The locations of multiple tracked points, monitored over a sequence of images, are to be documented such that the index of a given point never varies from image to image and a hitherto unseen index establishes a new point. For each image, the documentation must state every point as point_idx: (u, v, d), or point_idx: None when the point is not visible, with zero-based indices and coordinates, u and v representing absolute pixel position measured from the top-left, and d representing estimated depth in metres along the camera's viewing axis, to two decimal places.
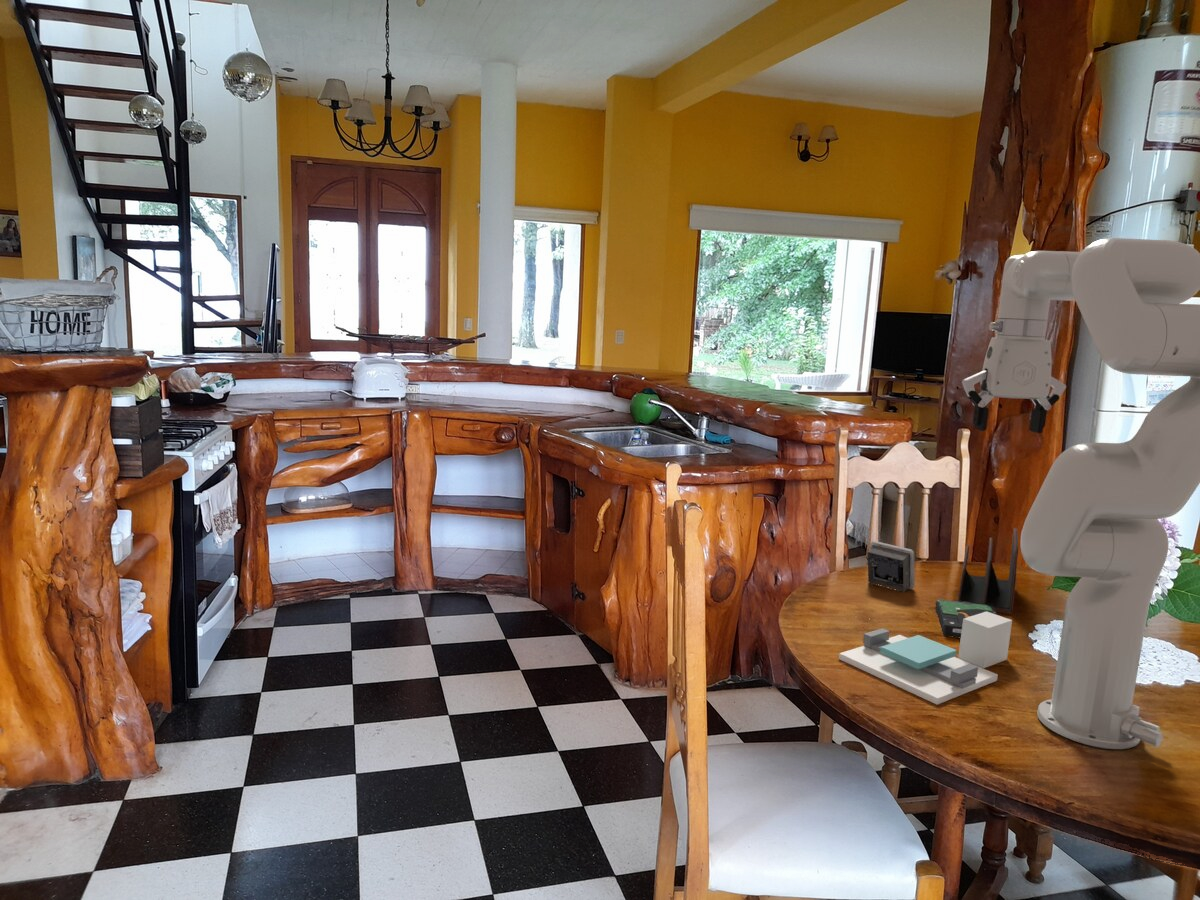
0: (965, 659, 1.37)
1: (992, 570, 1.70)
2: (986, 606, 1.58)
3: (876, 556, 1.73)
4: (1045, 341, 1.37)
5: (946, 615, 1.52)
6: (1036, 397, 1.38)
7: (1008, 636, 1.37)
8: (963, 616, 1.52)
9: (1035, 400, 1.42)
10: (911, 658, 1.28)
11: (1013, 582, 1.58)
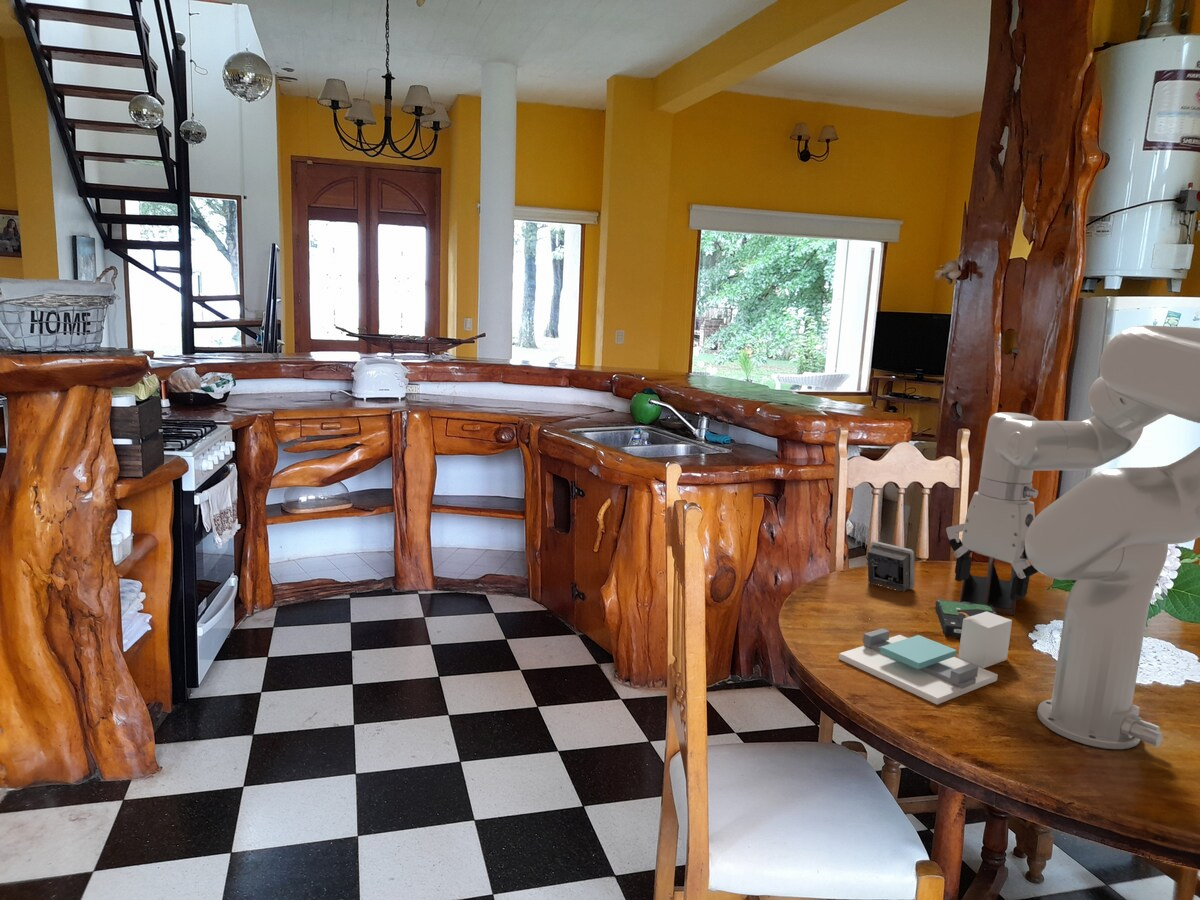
0: (965, 659, 1.37)
1: (994, 570, 1.69)
2: (986, 606, 1.58)
3: (876, 556, 1.73)
4: None
5: (947, 615, 1.52)
6: None
7: (1008, 636, 1.37)
8: (963, 616, 1.52)
9: None
10: (911, 658, 1.28)
11: None
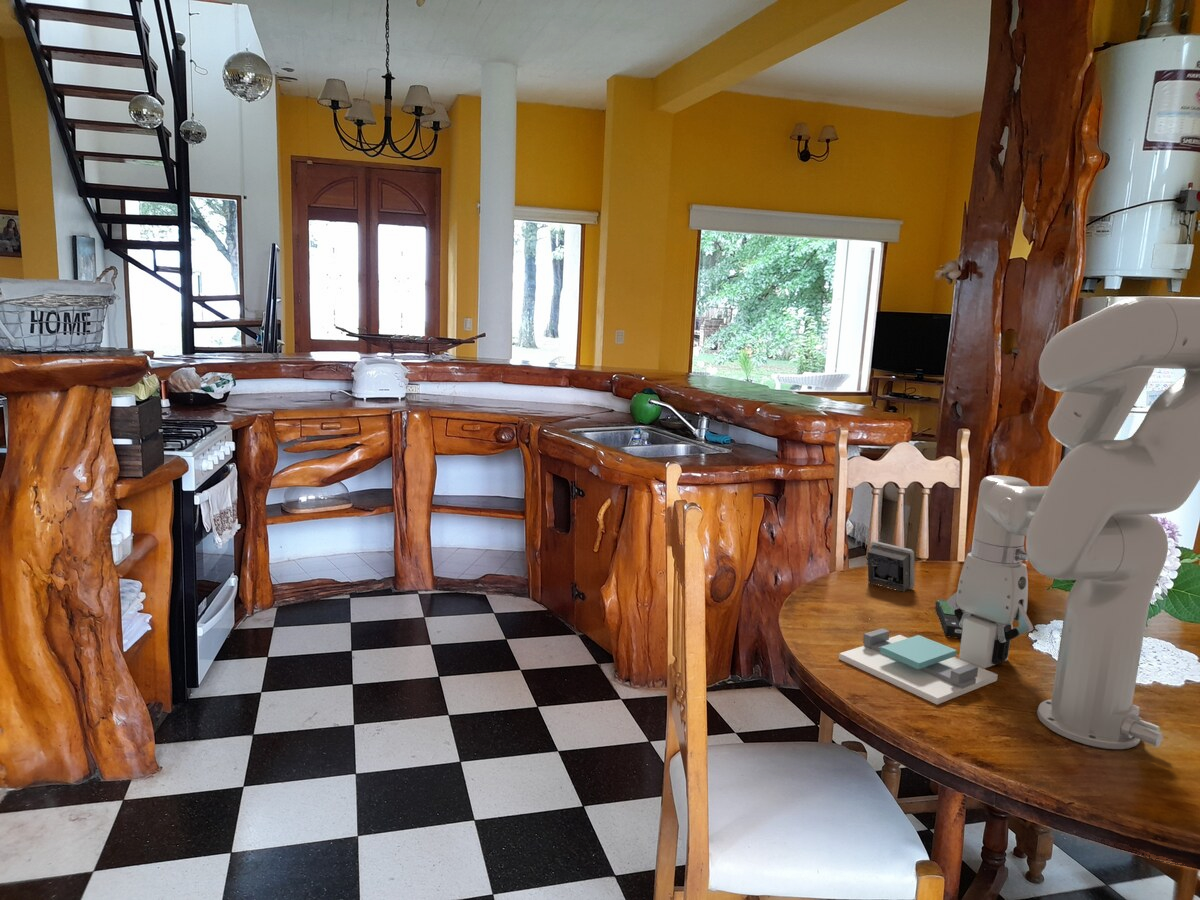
0: (966, 659, 1.37)
1: None
2: None
3: (876, 556, 1.73)
4: None
5: (947, 615, 1.52)
6: None
7: None
8: None
9: None
10: (911, 658, 1.28)
11: None
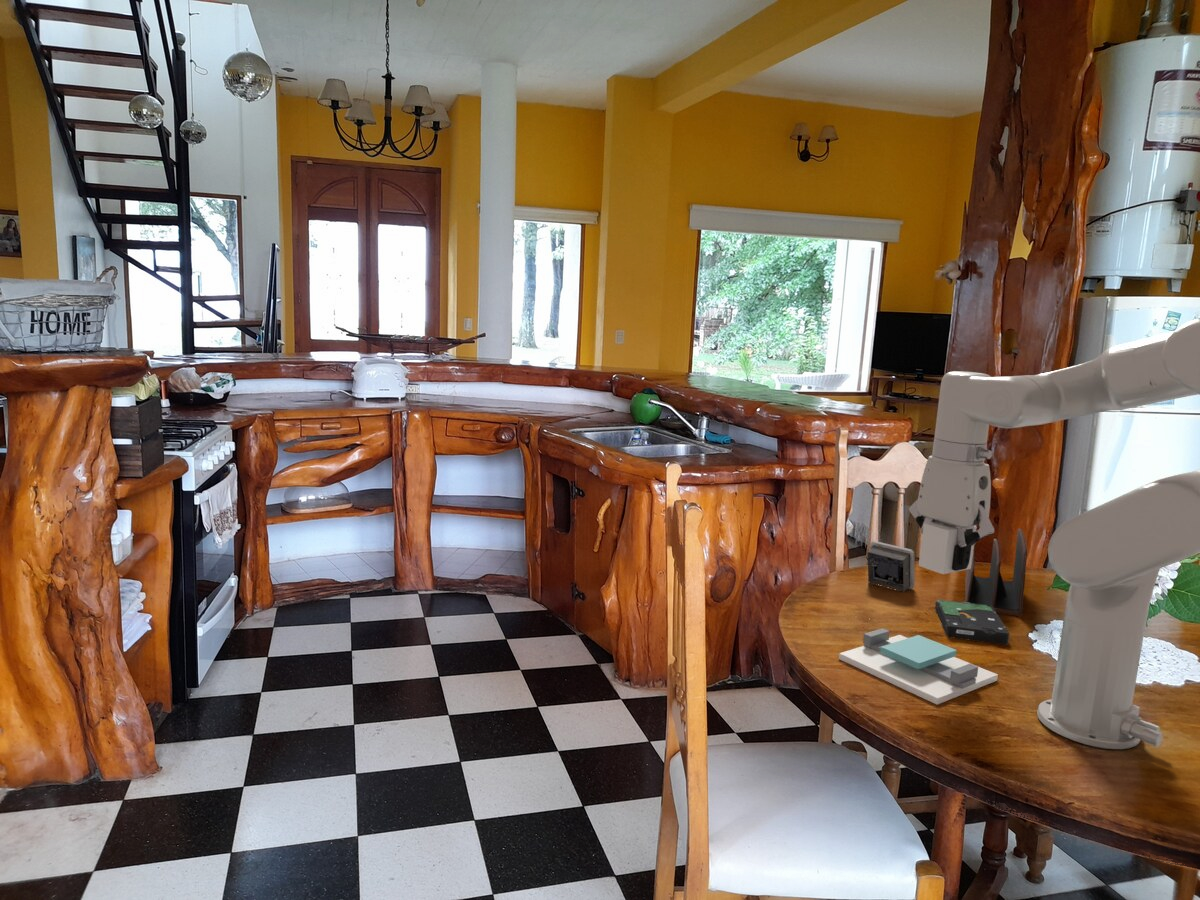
0: (925, 566, 1.30)
1: (998, 571, 1.69)
2: (986, 606, 1.58)
3: (876, 556, 1.73)
4: None
5: (948, 616, 1.52)
6: None
7: None
8: (964, 616, 1.52)
9: None
10: (911, 658, 1.28)
11: (1022, 584, 1.58)
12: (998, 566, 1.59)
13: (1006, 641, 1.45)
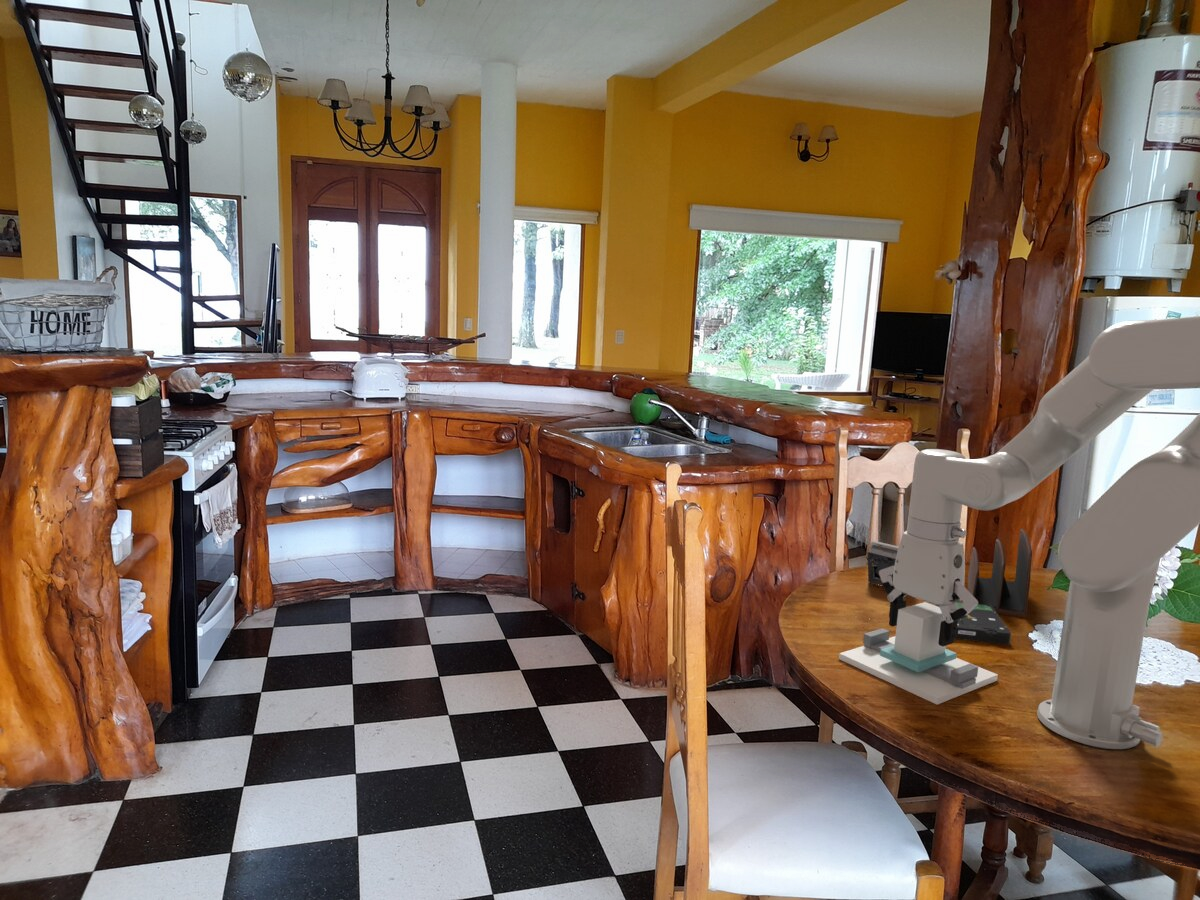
0: (900, 652, 1.31)
1: None
2: (985, 606, 1.58)
3: (876, 556, 1.73)
4: None
5: None
6: None
7: None
8: (965, 616, 1.51)
9: None
10: (911, 661, 1.28)
11: (1027, 585, 1.57)
12: (1003, 567, 1.58)
13: (1008, 641, 1.45)
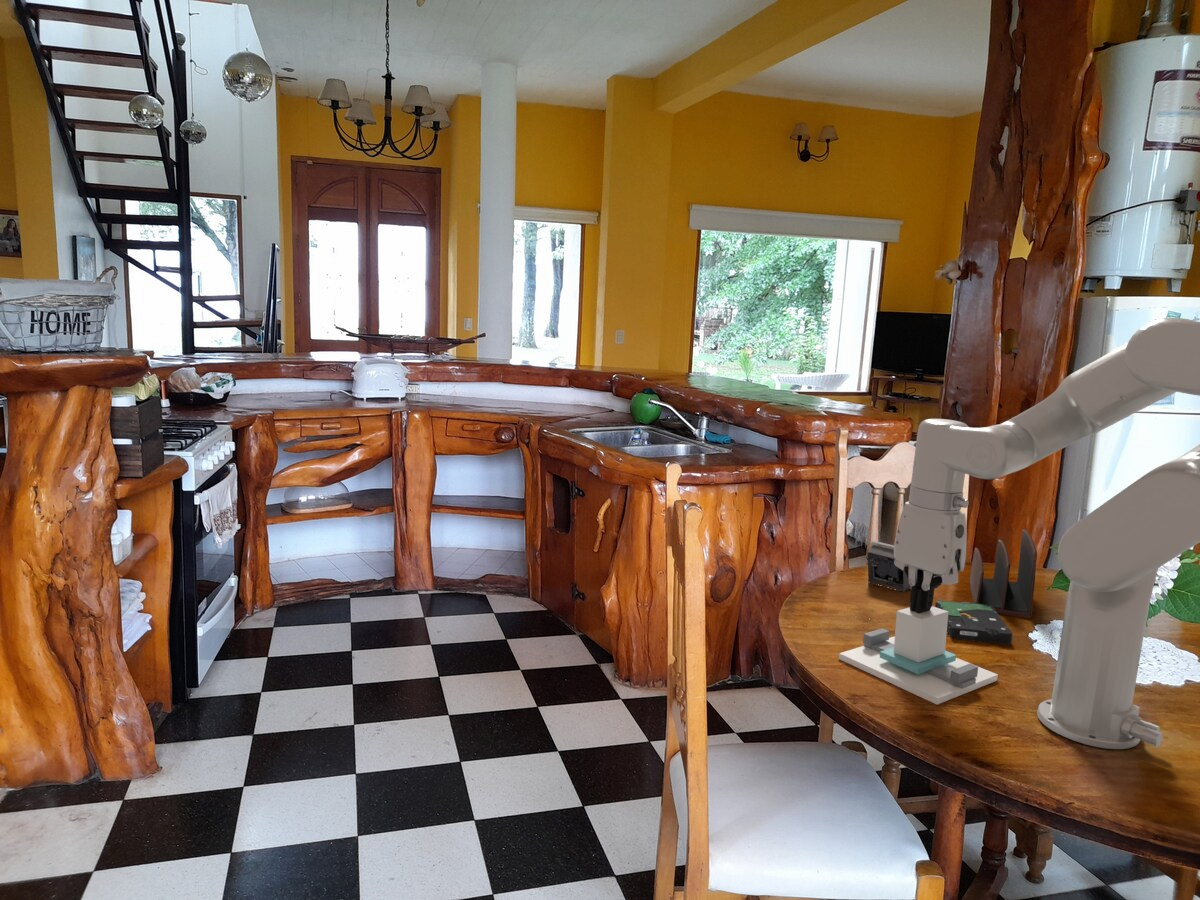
0: (900, 653, 1.31)
1: None
2: (985, 606, 1.58)
3: (876, 556, 1.73)
4: None
5: (950, 617, 1.52)
6: None
7: (945, 628, 1.31)
8: (966, 617, 1.51)
9: None
10: (910, 663, 1.28)
11: (1032, 585, 1.57)
12: (1008, 568, 1.58)
13: (1009, 641, 1.45)
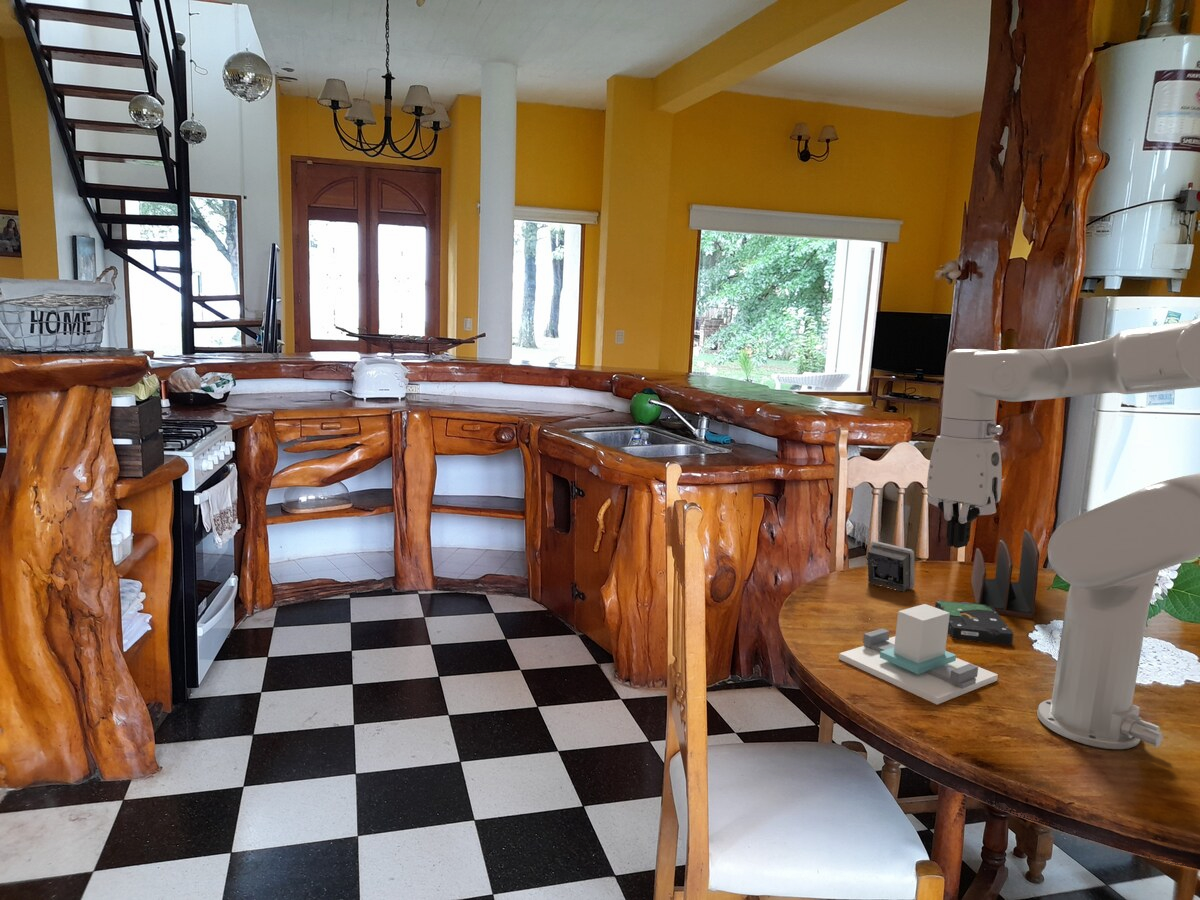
0: (900, 654, 1.31)
1: None
2: (985, 606, 1.58)
3: (876, 556, 1.73)
4: None
5: (951, 617, 1.52)
6: None
7: (946, 629, 1.31)
8: (967, 617, 1.51)
9: None
10: (910, 663, 1.28)
11: (1035, 586, 1.57)
12: (1010, 568, 1.58)
13: (1010, 641, 1.45)
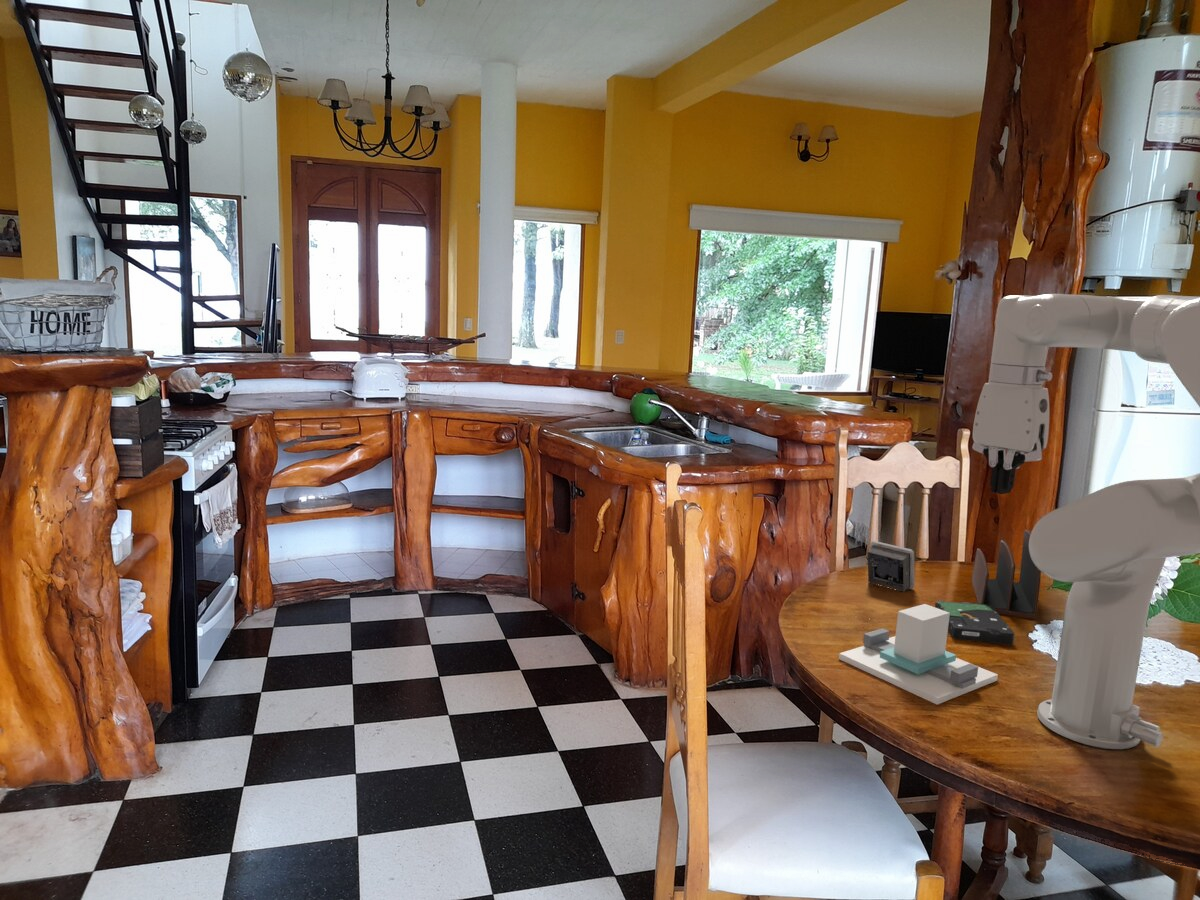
0: (900, 654, 1.31)
1: None
2: (985, 606, 1.58)
3: (876, 556, 1.73)
4: None
5: (951, 617, 1.51)
6: None
7: (946, 629, 1.31)
8: (967, 617, 1.51)
9: None
10: (910, 663, 1.28)
11: (1037, 586, 1.57)
12: (1013, 569, 1.58)
13: (1011, 641, 1.45)
